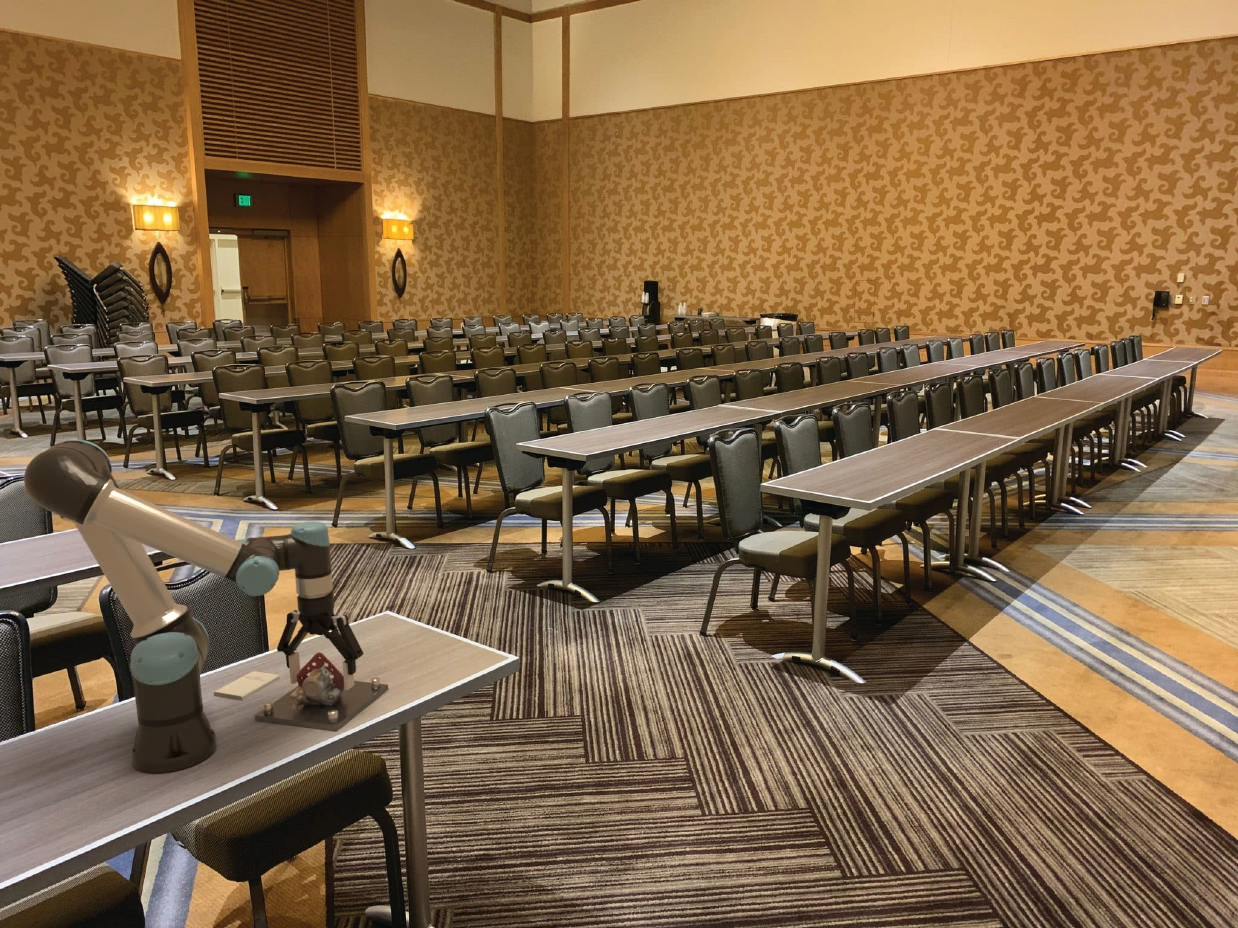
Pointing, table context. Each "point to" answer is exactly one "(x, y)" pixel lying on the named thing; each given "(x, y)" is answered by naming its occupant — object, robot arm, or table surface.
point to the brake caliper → (318, 683)
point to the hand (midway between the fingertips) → (322, 684)
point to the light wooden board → (246, 685)
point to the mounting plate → (323, 707)
